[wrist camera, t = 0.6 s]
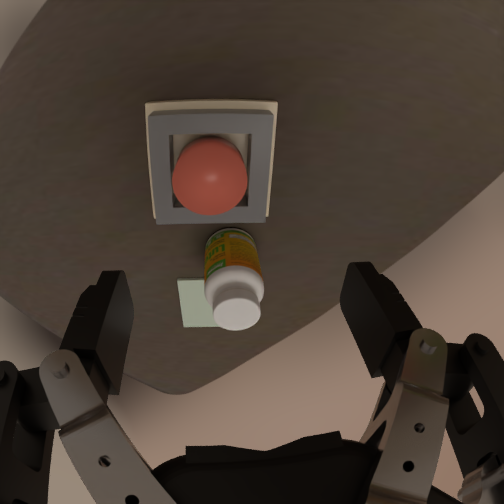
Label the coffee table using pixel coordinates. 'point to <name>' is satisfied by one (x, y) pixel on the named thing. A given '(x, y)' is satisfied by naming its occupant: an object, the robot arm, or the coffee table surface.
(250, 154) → the dome console
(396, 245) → the coffee table surface
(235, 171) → the dome button
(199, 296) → the mat
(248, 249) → the supplement bottle
